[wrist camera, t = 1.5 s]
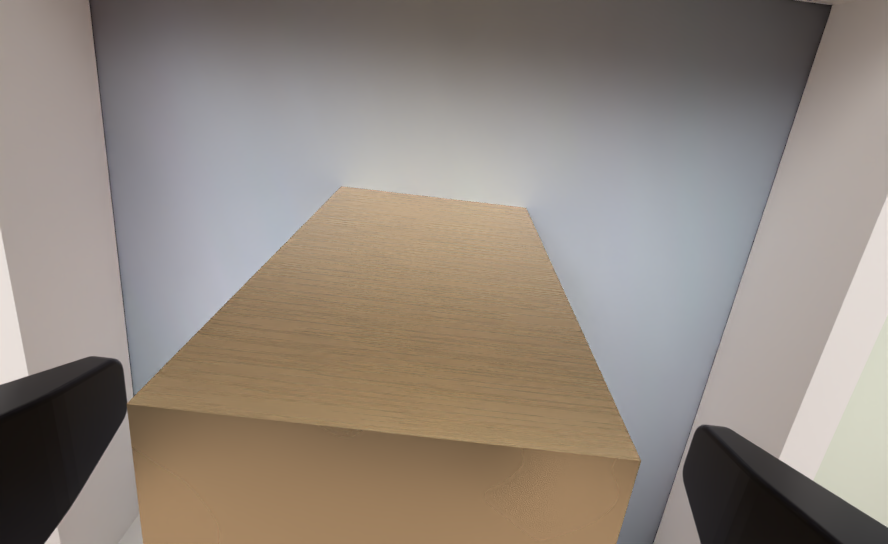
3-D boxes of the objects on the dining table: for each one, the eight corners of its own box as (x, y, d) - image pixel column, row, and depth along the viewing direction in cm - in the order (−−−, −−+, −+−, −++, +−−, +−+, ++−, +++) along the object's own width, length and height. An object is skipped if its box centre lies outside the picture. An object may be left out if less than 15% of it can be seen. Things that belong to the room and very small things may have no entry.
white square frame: (892, -39, 10) (1064, -81, 7) (668, 583, 15) (715, 698, 13) (28, -145, 10) (-151, -230, 7) (119, 523, 15) (42, 627, 12)
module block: (526, 207, 12) (640, 461, 4) (493, 402, 13) (532, 823, 6) (341, 186, 12) (127, 403, 4) (332, 385, 13) (171, 786, 6)
